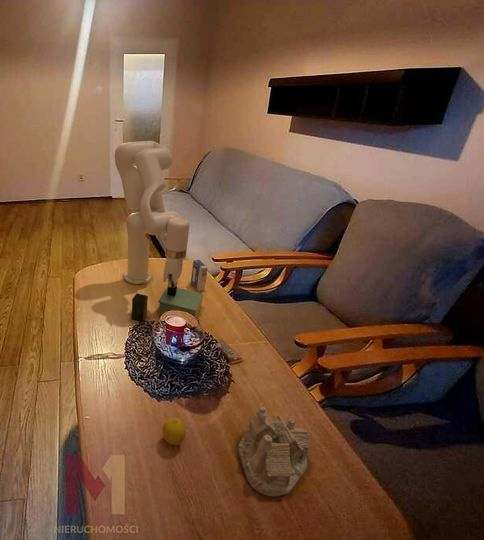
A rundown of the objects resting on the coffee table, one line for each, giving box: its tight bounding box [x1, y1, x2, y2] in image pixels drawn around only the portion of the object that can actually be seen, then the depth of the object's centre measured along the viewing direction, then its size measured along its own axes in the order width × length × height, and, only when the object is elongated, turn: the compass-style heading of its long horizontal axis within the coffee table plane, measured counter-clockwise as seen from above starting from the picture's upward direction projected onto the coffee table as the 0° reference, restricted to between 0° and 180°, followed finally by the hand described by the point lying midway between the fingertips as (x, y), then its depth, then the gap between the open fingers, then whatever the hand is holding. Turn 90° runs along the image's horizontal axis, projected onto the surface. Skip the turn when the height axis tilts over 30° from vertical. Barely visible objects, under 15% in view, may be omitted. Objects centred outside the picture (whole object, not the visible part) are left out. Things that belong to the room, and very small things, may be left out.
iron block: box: [131, 292, 149, 323], centre depth 131 cm, size 4×4×10 cm
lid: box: [157, 286, 204, 312], centre depth 134 cm, size 14×13×1 cm
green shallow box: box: [158, 295, 204, 319], centre depth 136 cm, size 14×13×6 cm
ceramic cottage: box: [237, 406, 311, 497], centre depth 79 cm, size 16×16×15 cm
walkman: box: [190, 259, 209, 292], centre depth 150 cm, size 8×3×12 cm, turn 11°
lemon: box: [162, 416, 186, 446], centre depth 86 cm, size 6×6×8 cm
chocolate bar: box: [215, 341, 244, 365], centre depth 116 cm, size 11×5×1 cm, turn 20°
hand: (171, 294), depth 136 cm, fingers closed
